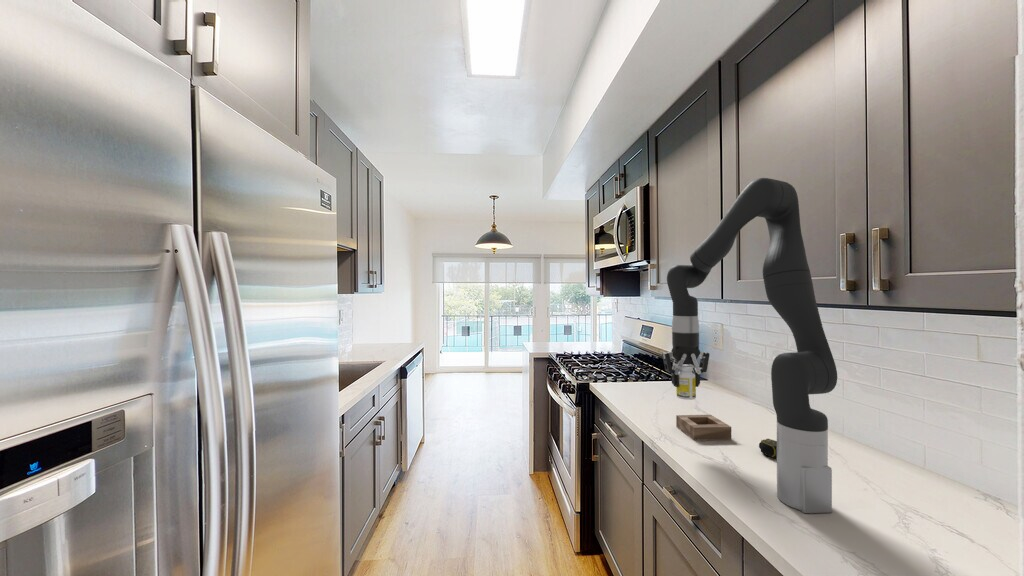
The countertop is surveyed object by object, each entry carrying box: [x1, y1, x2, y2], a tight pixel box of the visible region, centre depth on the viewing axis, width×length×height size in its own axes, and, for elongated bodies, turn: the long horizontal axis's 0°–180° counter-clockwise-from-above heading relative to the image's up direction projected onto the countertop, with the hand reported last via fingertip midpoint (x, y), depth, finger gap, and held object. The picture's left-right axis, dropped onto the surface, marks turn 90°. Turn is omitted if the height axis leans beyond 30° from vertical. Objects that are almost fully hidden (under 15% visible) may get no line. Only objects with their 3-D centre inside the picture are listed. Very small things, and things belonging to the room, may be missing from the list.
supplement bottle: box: [675, 364, 697, 401], centre depth 121 cm, size 5×5×10 cm
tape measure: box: [758, 438, 777, 459], centre depth 113 cm, size 7×7×4 cm
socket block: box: [675, 414, 732, 441], centre depth 131 cm, size 12×12×4 cm
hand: (686, 386), depth 121 cm, fingers closed on supplement bottle, 5 cm apart
